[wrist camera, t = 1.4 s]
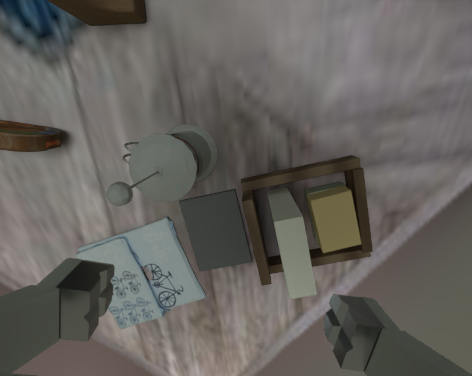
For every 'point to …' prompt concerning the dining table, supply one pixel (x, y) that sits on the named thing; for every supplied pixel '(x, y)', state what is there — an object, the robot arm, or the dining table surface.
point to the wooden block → (104, 11)
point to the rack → (346, 164)
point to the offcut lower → (315, 190)
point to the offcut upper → (334, 219)
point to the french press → (167, 165)
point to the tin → (28, 137)
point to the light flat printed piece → (133, 279)
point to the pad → (216, 230)
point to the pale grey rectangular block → (292, 243)
